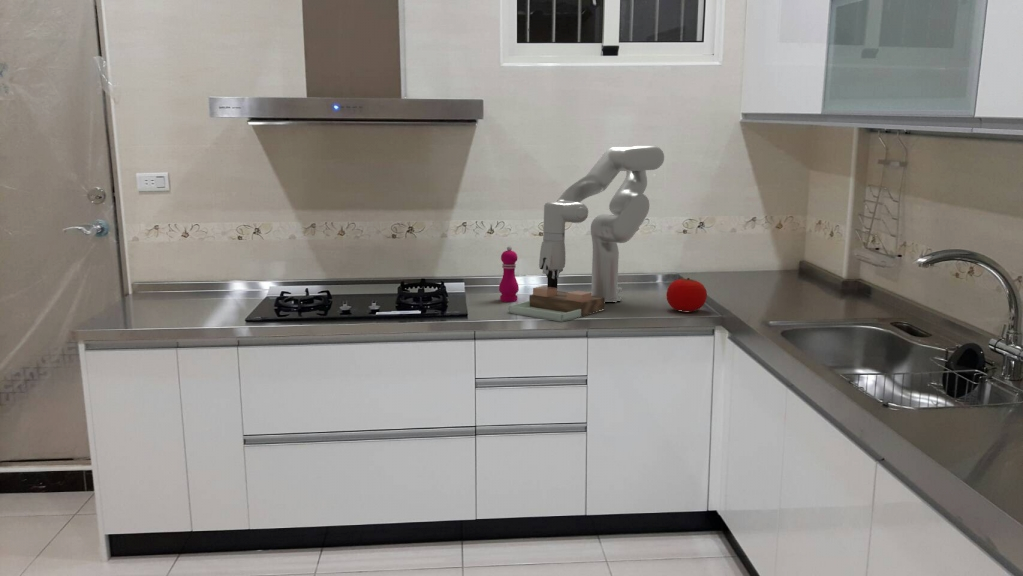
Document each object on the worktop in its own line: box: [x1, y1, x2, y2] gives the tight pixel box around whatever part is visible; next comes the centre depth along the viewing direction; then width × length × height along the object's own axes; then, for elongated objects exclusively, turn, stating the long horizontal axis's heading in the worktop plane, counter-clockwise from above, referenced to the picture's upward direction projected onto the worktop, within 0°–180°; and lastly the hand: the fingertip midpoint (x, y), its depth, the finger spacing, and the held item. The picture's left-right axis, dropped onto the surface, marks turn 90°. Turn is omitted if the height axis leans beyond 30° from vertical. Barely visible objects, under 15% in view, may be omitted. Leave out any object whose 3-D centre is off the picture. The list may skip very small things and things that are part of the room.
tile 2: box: [567, 290, 591, 302], centre depth 271 cm, size 6×6×2 cm
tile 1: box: [532, 285, 558, 297], centre depth 279 cm, size 6×6×2 cm
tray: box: [508, 300, 582, 323], centre depth 268 cm, size 11×22×2 cm, turn 52°
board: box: [528, 290, 605, 317], centre depth 278 cm, size 14×22×4 cm, turn 52°
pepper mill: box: [498, 245, 520, 303], centre depth 291 cm, size 7×7×20 cm
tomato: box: [665, 277, 708, 312], centre depth 276 cm, size 13×14×12 cm
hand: (552, 289), depth 282 cm, fingers closed
